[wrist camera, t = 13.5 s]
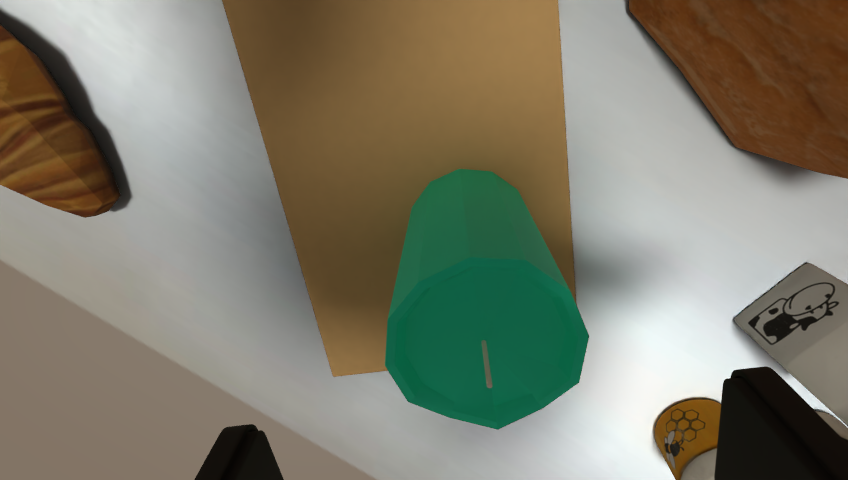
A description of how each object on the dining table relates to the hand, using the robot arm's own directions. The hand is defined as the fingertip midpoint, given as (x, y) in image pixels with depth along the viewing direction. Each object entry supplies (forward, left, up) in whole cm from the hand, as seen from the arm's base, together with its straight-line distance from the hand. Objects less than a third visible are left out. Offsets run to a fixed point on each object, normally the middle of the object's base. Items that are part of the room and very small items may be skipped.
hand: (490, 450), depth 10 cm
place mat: (-1, -2, -15) cm, 15 cm away
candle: (+1, 0, -15) cm, 15 cm away
